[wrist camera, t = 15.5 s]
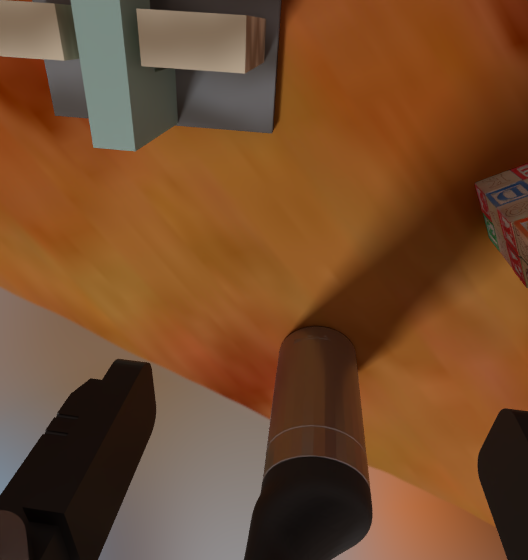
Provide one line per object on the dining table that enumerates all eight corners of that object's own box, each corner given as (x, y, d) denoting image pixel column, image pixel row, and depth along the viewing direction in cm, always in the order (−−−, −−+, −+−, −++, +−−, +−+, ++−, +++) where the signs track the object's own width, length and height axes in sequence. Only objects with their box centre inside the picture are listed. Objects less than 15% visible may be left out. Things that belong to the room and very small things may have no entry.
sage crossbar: (177, 123, 37) (135, 151, 29) (145, 120, 37) (93, 147, 29) (167, -82, 30) (106, -126, 21) (127, -84, 30) (50, -128, 22)
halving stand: (273, 130, 37) (257, 164, 28) (61, 113, 39) (-22, 140, 30) (285, -70, 30) (269, -114, 21) (23, -82, 32) (-101, -128, 22)
